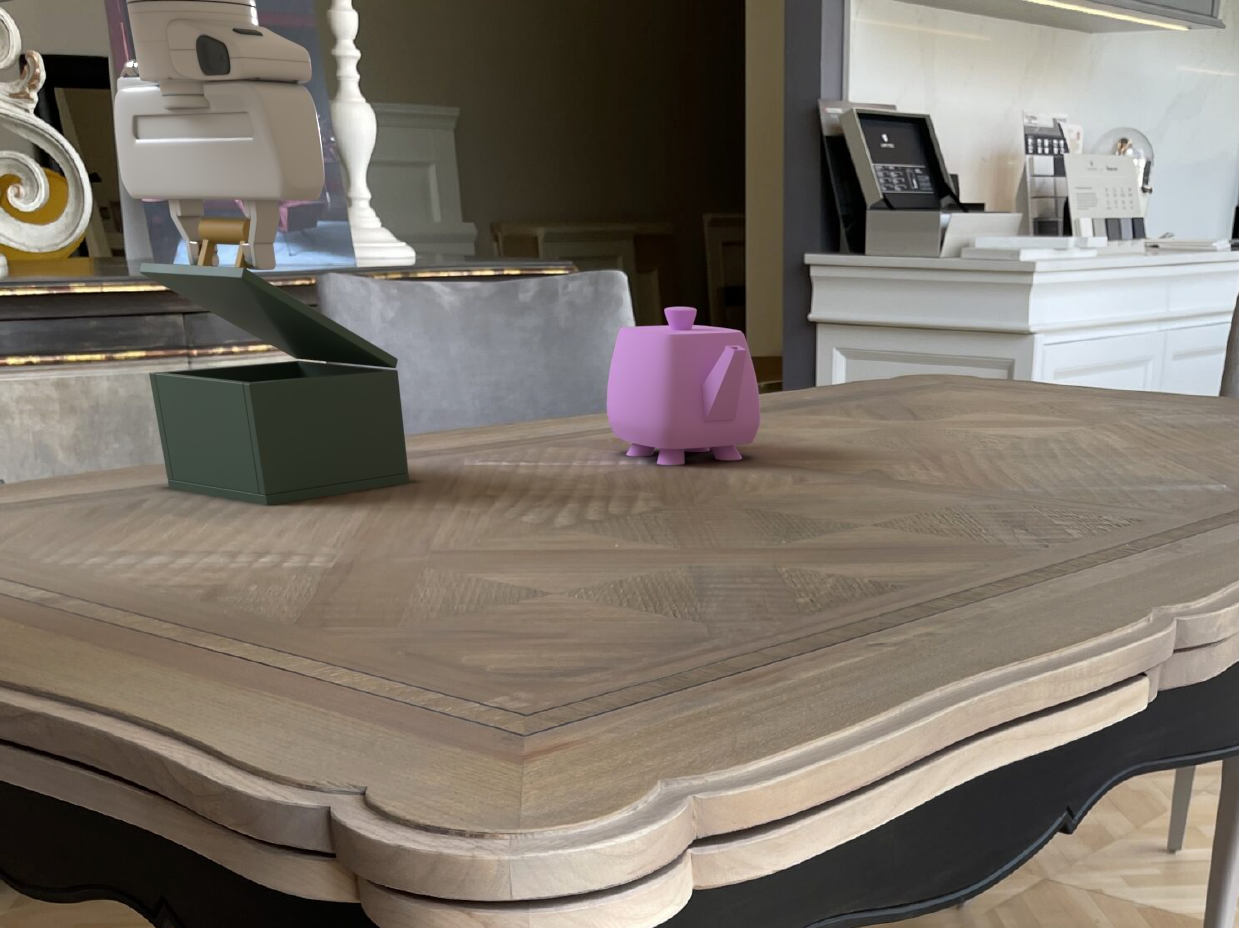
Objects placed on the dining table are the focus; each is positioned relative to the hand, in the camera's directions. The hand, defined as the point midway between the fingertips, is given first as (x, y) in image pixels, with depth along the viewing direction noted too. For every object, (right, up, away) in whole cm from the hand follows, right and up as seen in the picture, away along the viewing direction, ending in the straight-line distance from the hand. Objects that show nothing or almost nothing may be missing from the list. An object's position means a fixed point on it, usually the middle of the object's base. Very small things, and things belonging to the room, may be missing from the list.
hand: (233, 268), depth 120 cm
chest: (+1, -13, +10) cm, 16 cm away
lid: (+2, -2, +4) cm, 5 cm away
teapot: (+33, -5, +26) cm, 42 cm away
